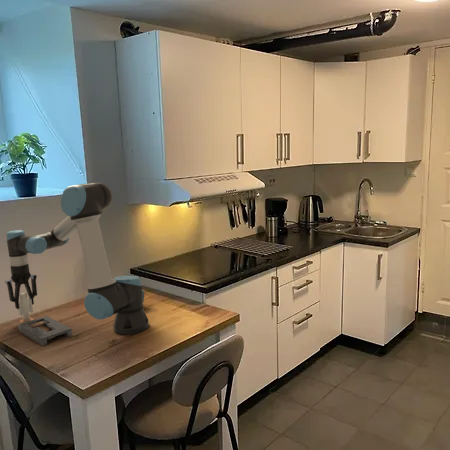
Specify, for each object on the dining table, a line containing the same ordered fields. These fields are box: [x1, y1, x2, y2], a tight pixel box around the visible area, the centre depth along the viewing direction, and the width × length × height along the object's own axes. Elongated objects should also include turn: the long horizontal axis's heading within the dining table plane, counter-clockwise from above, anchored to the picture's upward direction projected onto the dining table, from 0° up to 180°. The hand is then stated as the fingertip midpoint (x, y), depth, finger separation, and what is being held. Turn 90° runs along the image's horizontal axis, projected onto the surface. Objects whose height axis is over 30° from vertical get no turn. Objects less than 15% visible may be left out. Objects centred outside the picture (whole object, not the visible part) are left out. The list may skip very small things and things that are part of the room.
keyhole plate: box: [17, 315, 73, 347], centre depth 194 cm, size 24×13×3 cm, turn 46°
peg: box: [19, 292, 35, 324], centre depth 206 cm, size 6×6×14 cm
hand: (25, 313), depth 207 cm, fingers open, 4 cm apart
